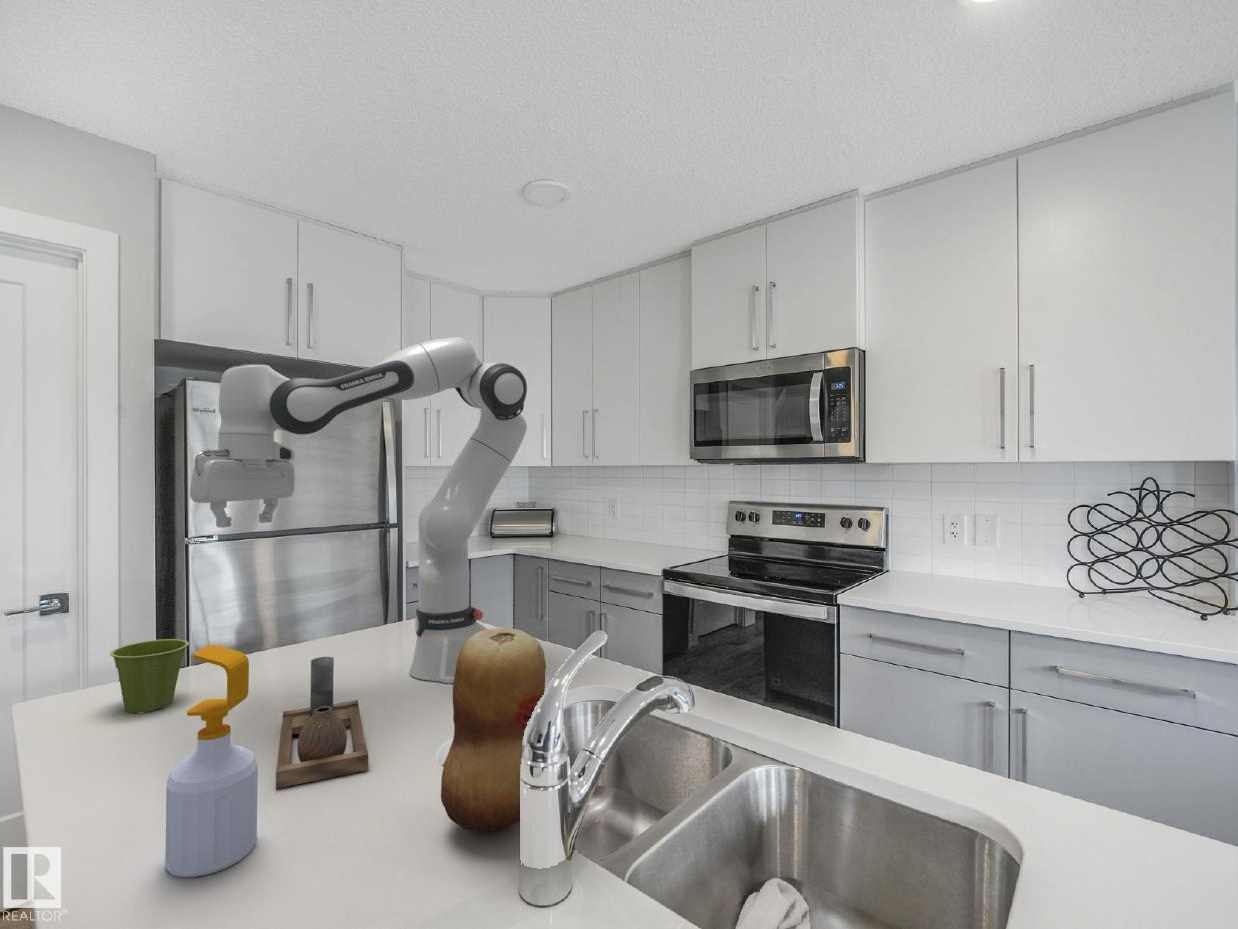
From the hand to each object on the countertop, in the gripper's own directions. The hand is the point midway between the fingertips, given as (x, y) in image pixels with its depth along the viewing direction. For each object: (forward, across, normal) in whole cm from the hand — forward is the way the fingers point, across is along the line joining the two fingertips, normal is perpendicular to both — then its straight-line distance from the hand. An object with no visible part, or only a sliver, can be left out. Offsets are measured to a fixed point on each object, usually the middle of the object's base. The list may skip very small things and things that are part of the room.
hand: (245, 524), depth 112 cm
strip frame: (+35, -8, -24) cm, 43 cm away
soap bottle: (+35, -34, -30) cm, 58 cm away
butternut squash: (+35, -20, -60) cm, 72 cm away
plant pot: (+35, -2, +19) cm, 40 cm away
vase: (+35, -13, -28) cm, 47 cm away
